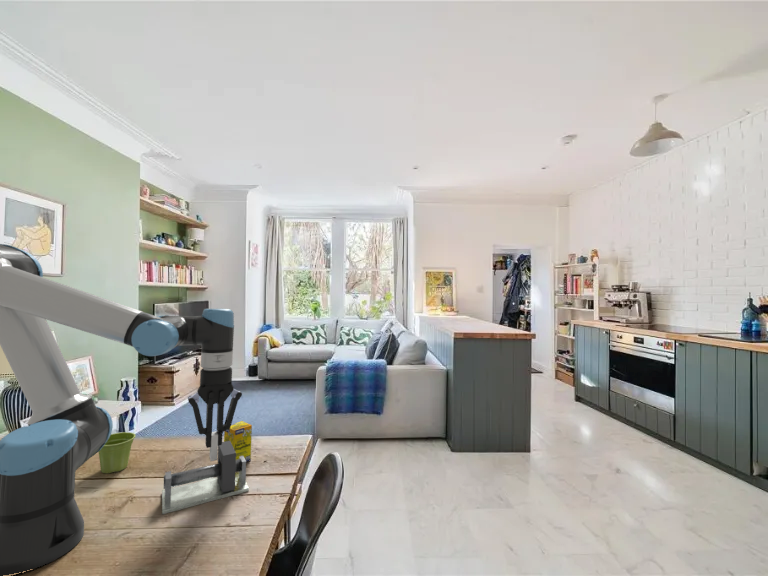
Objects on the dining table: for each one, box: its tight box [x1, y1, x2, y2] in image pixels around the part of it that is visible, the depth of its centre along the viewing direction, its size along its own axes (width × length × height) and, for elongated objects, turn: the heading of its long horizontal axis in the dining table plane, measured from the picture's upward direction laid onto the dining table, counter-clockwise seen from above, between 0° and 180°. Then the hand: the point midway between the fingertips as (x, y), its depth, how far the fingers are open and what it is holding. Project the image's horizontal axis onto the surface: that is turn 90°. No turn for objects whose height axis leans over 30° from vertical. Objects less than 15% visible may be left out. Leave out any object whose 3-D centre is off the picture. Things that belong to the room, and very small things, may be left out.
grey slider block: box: [217, 441, 236, 493], centre depth 93 cm, size 3×9×9 cm, turn 33°
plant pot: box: [98, 431, 137, 474], centre depth 102 cm, size 9×9×9 cm
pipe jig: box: [161, 456, 250, 515], centre depth 90 cm, size 19×10×7 cm, turn 123°
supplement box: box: [223, 420, 253, 463], centre depth 107 cm, size 6×6×11 cm
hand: (213, 458), depth 91 cm, fingers closed
